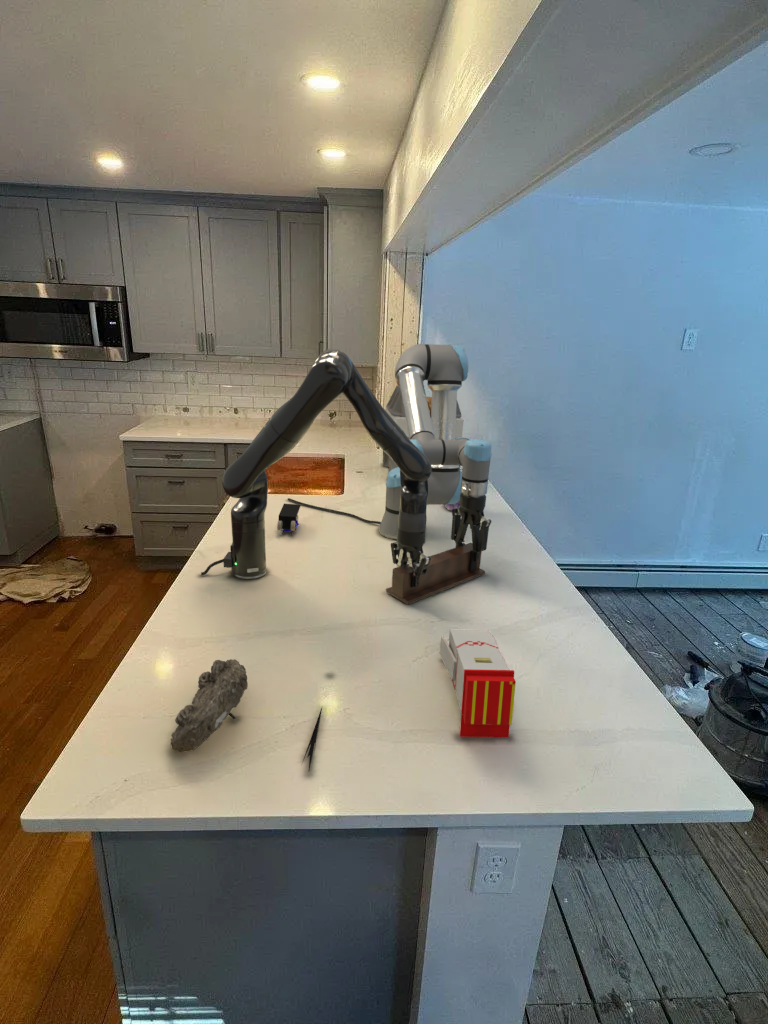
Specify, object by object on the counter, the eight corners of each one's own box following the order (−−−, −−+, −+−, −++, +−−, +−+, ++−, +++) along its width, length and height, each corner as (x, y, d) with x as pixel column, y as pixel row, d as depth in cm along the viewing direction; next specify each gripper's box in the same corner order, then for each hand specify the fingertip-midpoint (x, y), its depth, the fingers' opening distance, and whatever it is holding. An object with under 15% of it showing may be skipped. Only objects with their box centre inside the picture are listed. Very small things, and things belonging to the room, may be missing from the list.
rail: (407, 604, 152) (409, 577, 149) (386, 591, 158) (387, 565, 155) (485, 573, 172) (488, 549, 169) (463, 563, 178) (465, 539, 175)
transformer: (381, 463, 289) (385, 382, 275) (444, 464, 292) (450, 384, 279) (389, 482, 257) (393, 392, 243) (459, 483, 261) (467, 394, 247)
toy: (489, 613, 130) (525, 677, 101) (485, 667, 133) (518, 744, 104) (437, 612, 130) (457, 676, 101) (434, 666, 133) (453, 743, 103)
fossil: (195, 660, 117) (247, 628, 112) (227, 691, 120) (279, 661, 115) (146, 746, 98) (206, 711, 93) (185, 779, 101) (245, 748, 96)
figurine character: (296, 541, 193) (301, 521, 206) (295, 521, 189) (301, 502, 203) (276, 540, 193) (283, 520, 206) (275, 520, 189) (282, 501, 203)
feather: (331, 679, 122) (336, 673, 122) (307, 777, 96) (313, 769, 95) (324, 675, 122) (329, 669, 121) (298, 772, 95) (304, 764, 95)
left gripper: (383, 520, 153) (381, 577, 159) (420, 537, 143) (416, 597, 149) (404, 515, 158) (400, 570, 163) (441, 531, 148) (436, 589, 153)
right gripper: (442, 488, 168) (436, 559, 175) (488, 504, 155) (480, 580, 163) (459, 483, 172) (452, 554, 180) (505, 499, 160) (496, 574, 168)
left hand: (408, 583), depth 156 cm, fingers closed on rail, 4 cm apart
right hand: (465, 566), depth 172 cm, fingers closed on rail, 4 cm apart
